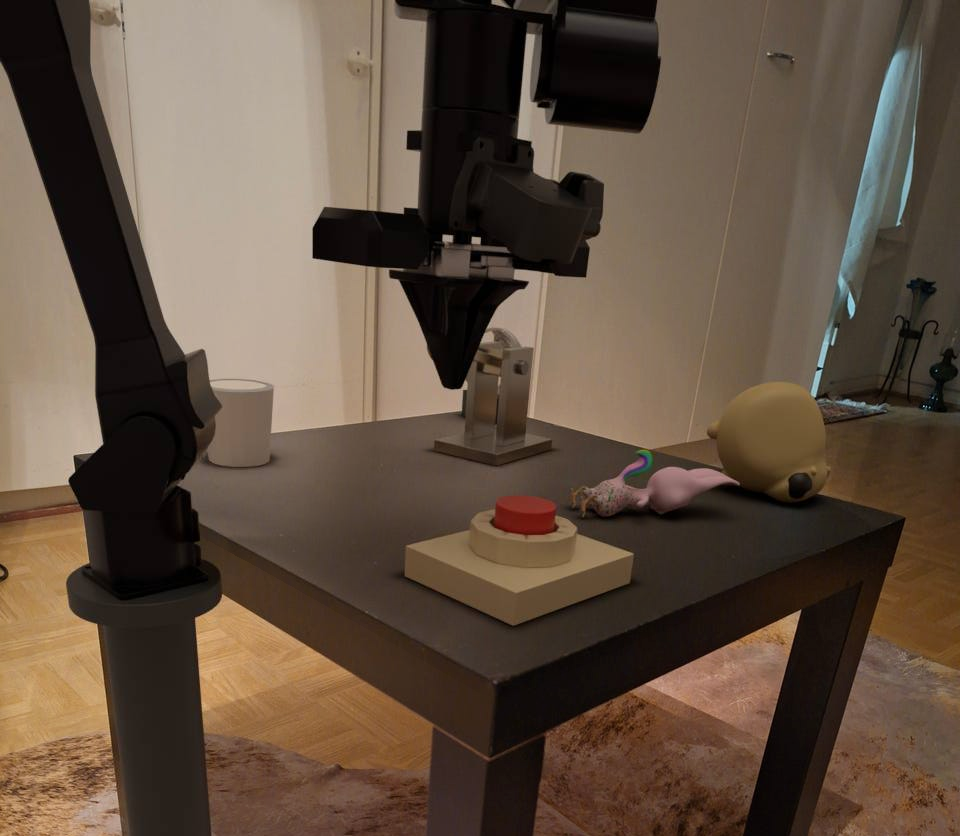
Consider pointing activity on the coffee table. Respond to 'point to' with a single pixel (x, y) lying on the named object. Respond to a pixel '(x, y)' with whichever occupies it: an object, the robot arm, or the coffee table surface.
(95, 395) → the robot arm
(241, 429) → the white cup
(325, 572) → the coffee table surface
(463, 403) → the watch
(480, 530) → the control block
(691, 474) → the pink toy creature
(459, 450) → the switch bracket
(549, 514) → the button
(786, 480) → the tan animal figure
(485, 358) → the lever
